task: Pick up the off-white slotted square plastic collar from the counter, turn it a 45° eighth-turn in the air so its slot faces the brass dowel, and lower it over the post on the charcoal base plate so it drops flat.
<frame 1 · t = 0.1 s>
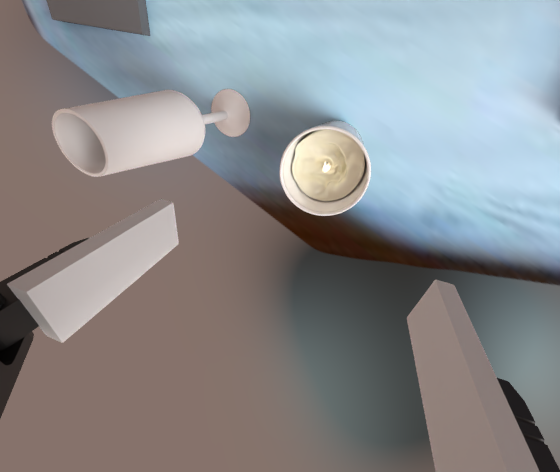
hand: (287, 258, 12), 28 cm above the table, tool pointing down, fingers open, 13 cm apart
champagne flute: (231, 113, 37), on the table
candle holder: (333, 150, 35), on the table
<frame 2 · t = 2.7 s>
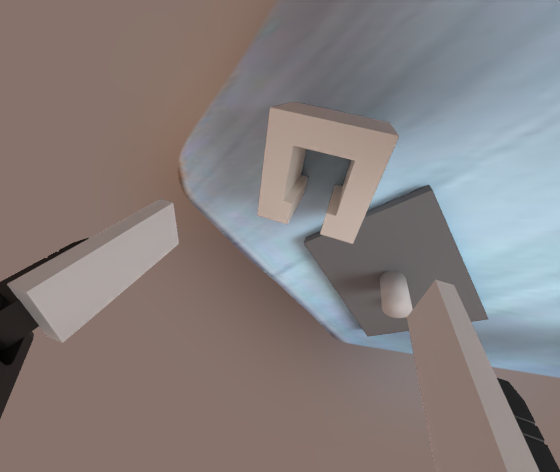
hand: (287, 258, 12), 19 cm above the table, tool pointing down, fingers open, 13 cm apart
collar: (327, 159, 27), on the table
base plate: (391, 272, 32), on the table
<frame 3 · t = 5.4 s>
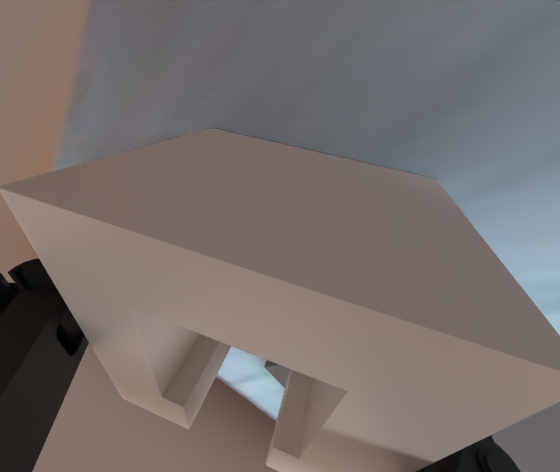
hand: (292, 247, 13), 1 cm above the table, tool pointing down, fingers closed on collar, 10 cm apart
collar: (294, 242, 13), on the table, touching gripper
base plate: (420, 416, 18), on the table
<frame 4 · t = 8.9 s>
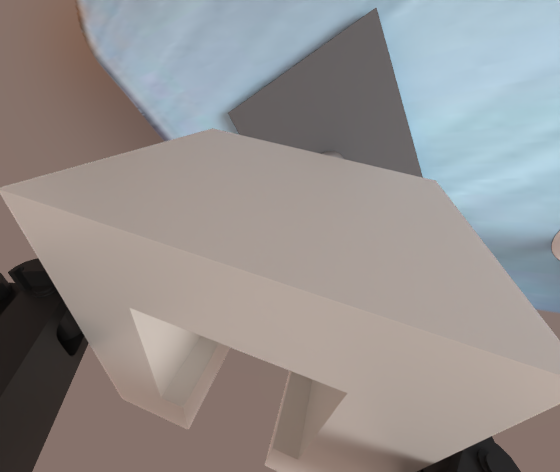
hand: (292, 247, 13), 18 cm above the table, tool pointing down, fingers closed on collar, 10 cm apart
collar: (294, 242, 13), point 17 cm above the table, touching gripper
base plate: (331, 162, 27), on the table
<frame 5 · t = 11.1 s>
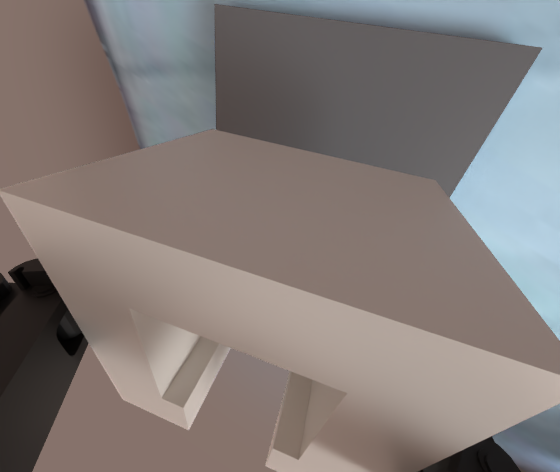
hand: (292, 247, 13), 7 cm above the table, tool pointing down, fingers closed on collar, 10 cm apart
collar: (294, 243, 13), point 7 cm above the table, touching gripper
base plate: (317, 195, 18), on the table
when the fingers open (3 cm above the table, at t = 12.8 s): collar drops 1 cm, resting on base plate.
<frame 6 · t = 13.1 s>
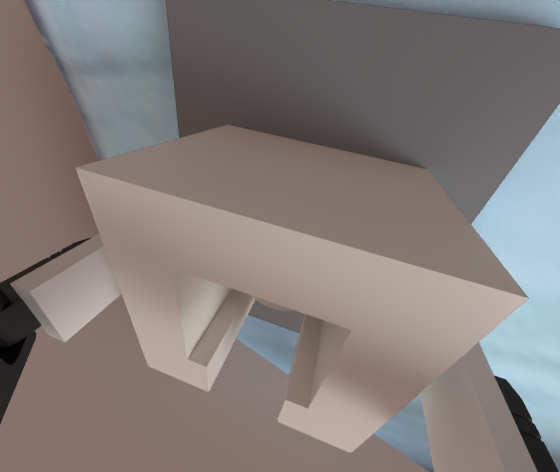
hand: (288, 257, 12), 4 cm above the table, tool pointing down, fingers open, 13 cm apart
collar: (300, 229, 14), point 1 cm above the table, touching base plate
base plate: (305, 217, 15), on the table
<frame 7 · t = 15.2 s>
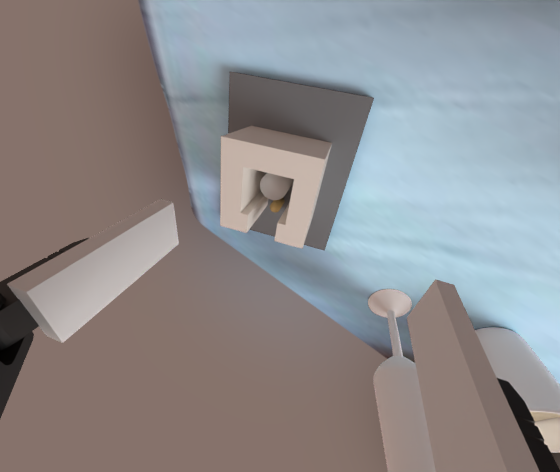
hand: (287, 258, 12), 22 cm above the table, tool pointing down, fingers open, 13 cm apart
champagne flute: (389, 303, 39), on the table
candle holder: (490, 342, 38), on the table
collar: (284, 174, 31), point 1 cm above the table, touching base plate
base plate: (286, 170, 32), on the table
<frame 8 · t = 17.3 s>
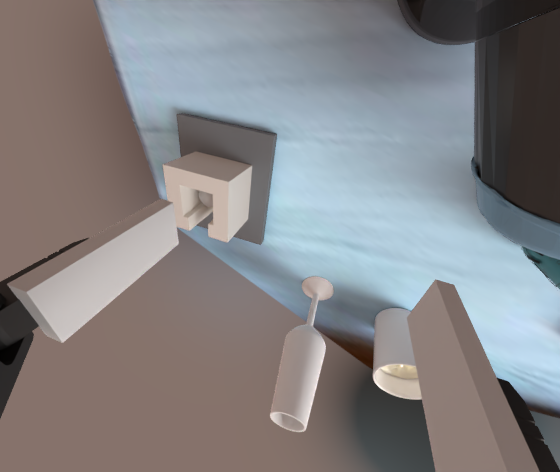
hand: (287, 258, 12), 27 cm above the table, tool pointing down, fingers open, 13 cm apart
champagne flute: (317, 288, 49), on the table
candle holder: (396, 321, 47), on the table
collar: (223, 186, 41), point 1 cm above the table, touching base plate
base plate: (227, 183, 42), on the table
beverage bottle: (543, 233, 32), on the table
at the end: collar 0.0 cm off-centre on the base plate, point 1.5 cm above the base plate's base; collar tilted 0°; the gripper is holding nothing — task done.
